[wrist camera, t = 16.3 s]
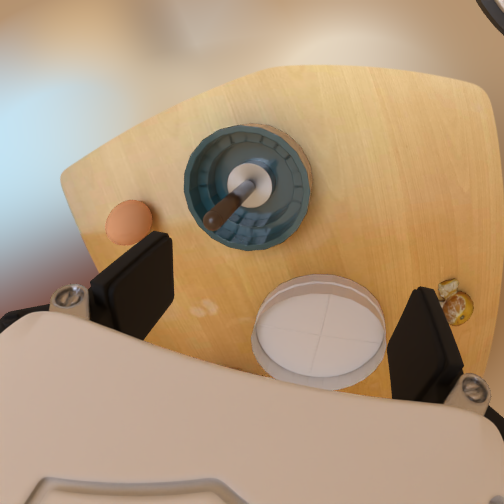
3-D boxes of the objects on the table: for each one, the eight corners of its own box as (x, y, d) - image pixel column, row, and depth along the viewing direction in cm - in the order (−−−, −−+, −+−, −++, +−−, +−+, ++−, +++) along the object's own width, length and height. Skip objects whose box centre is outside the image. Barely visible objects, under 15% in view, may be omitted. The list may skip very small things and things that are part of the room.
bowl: (205, 118, 38) (186, 121, 33) (320, 133, 35) (319, 136, 30) (200, 222, 45) (182, 237, 40) (302, 242, 43) (297, 261, 37)
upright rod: (234, 157, 39) (178, 186, 25) (278, 163, 38) (246, 196, 24) (230, 198, 42) (178, 248, 28) (272, 206, 41) (239, 261, 27)
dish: (363, 378, 52) (364, 398, 47) (253, 361, 56) (247, 380, 52) (401, 284, 42) (407, 303, 37) (261, 262, 46) (253, 279, 41)
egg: (132, 187, 46) (96, 205, 38) (165, 202, 45) (132, 224, 37) (125, 222, 49) (93, 243, 41) (156, 237, 49) (126, 263, 41)
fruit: (445, 273, 39) (452, 286, 36) (480, 289, 38) (487, 302, 35) (420, 314, 43) (424, 328, 40) (454, 326, 42) (460, 340, 39)
